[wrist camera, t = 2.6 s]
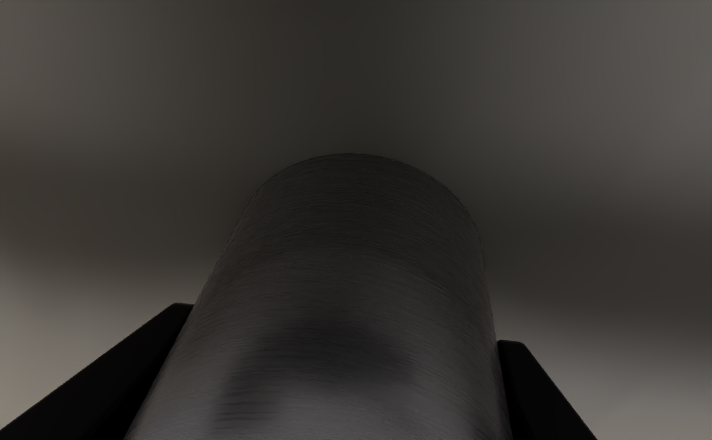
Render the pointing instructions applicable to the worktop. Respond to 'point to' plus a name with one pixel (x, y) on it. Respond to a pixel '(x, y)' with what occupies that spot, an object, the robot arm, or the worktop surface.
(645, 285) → the worktop surface
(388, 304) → the cylinder
